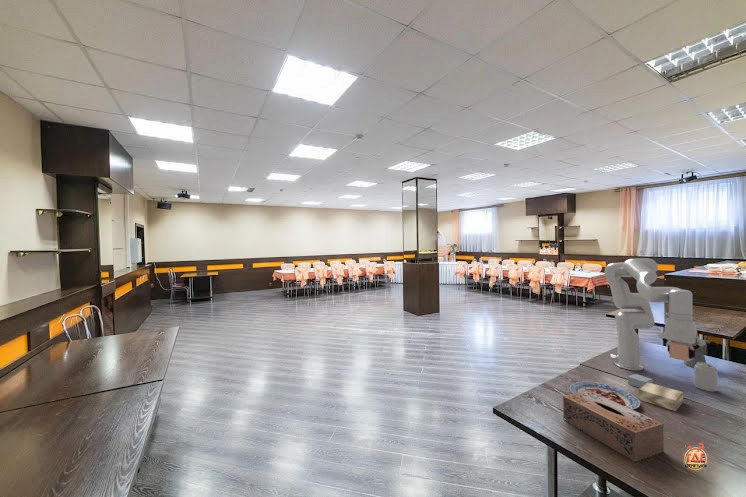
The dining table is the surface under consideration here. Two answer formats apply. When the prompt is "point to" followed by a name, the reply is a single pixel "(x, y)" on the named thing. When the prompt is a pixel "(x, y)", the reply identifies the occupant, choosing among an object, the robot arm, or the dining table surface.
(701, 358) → the coffeepot
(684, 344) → the terracotta cube
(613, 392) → the ceramic plate
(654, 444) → the tissue box cover
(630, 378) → the slate block
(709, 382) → the can
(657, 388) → the beech block
